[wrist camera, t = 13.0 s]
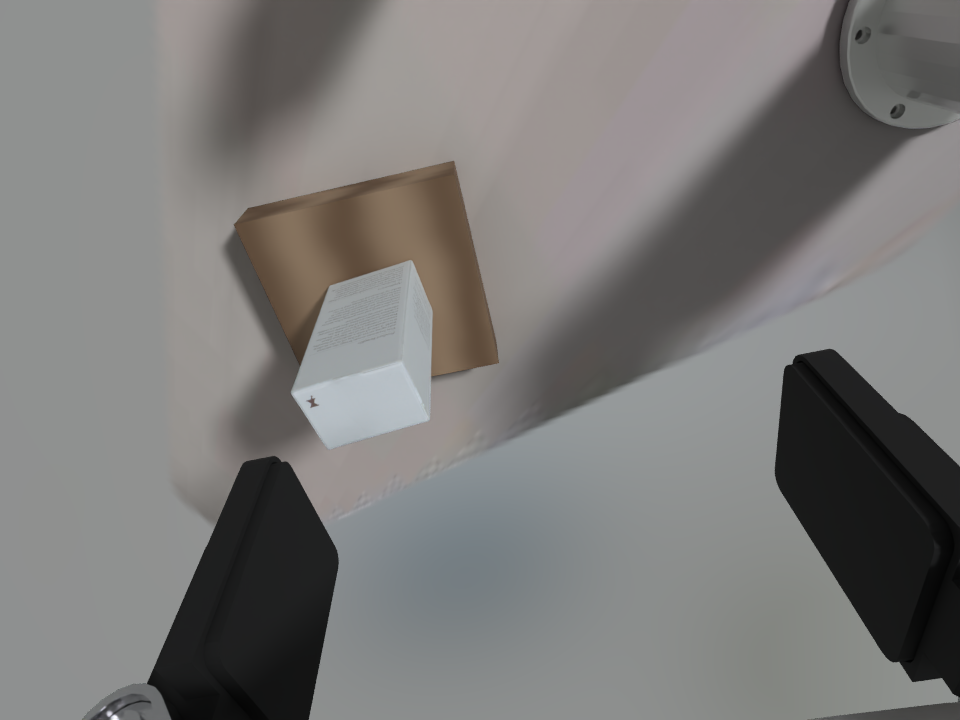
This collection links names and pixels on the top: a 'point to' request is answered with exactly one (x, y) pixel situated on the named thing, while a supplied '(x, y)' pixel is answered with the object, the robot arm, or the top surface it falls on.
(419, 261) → the walnut base
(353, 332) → the skincare box
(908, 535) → the robot arm
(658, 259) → the top surface
